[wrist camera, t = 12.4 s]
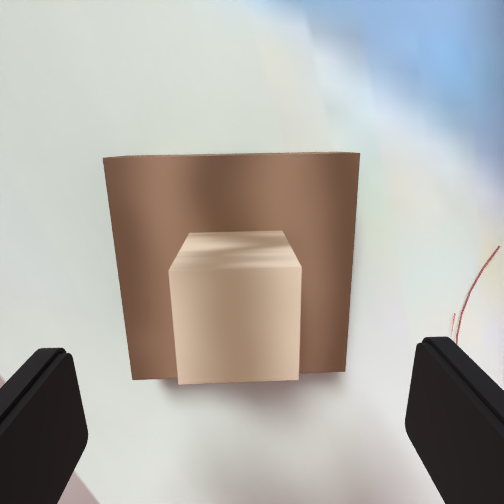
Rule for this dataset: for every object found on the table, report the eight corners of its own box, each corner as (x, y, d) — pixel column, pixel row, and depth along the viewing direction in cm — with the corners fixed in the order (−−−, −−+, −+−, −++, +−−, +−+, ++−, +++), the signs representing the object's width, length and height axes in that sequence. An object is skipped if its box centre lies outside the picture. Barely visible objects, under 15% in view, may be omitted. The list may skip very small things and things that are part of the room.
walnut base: (338, 151, 22) (360, 152, 18) (329, 337, 26) (345, 371, 22) (126, 155, 21) (102, 157, 18) (148, 344, 25) (132, 380, 21)
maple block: (282, 230, 19) (301, 267, 13) (281, 314, 21) (298, 379, 15) (189, 232, 19) (168, 270, 13) (195, 317, 20) (178, 384, 15)
